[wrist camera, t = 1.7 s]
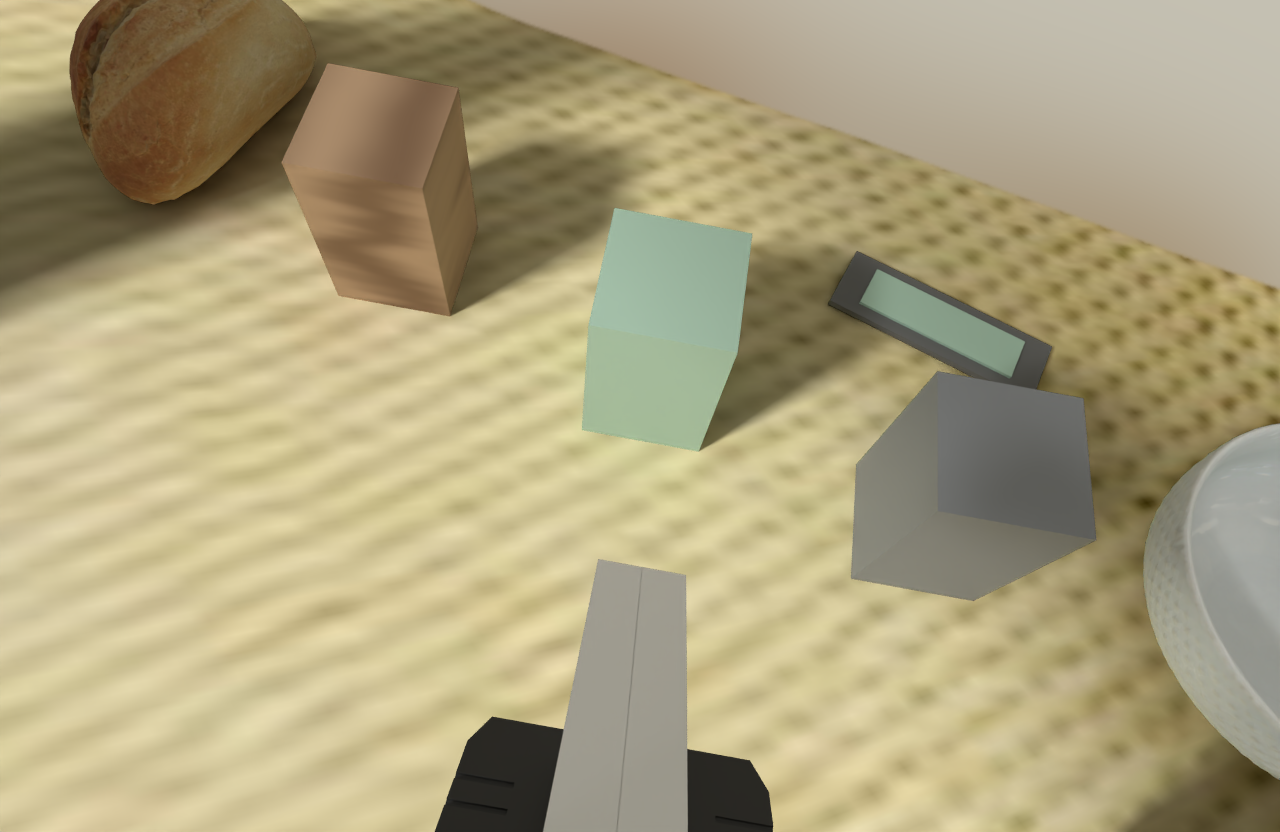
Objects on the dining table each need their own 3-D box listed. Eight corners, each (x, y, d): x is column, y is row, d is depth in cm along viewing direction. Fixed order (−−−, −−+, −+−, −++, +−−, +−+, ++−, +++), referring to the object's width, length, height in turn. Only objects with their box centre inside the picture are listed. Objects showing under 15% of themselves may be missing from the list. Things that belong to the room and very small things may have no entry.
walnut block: (338, 295, 43) (281, 162, 34) (372, 208, 46) (327, 63, 37) (450, 316, 43) (422, 188, 34) (477, 227, 46) (458, 87, 37)
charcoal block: (850, 578, 39) (937, 510, 30) (856, 464, 42) (937, 371, 33) (973, 600, 39) (1096, 540, 30) (970, 485, 42) (1083, 398, 33)
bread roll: (60, 184, 45) (-35, 66, 38) (222, 18, 51) (167, -110, 44) (213, 247, 44) (146, 138, 37) (358, 70, 51) (325, -52, 43)
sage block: (581, 430, 41) (588, 325, 32) (603, 330, 44) (614, 208, 35) (698, 451, 41) (737, 352, 32) (712, 350, 44) (752, 233, 35)
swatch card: (827, 304, 46) (831, 298, 45) (854, 255, 48) (858, 248, 47) (1027, 404, 44) (1033, 399, 44) (1048, 350, 46) (1054, 344, 45)
